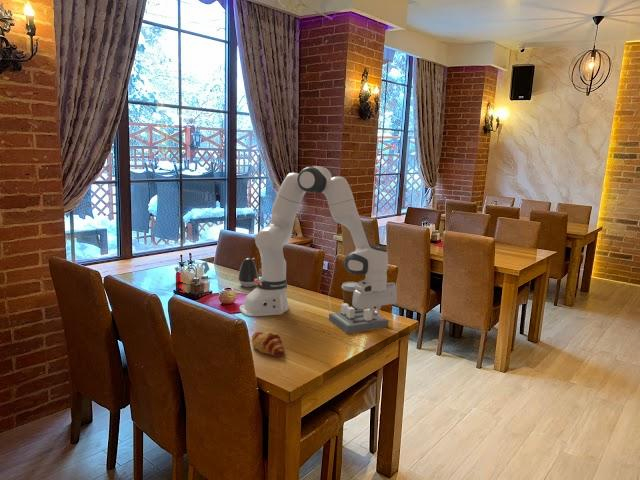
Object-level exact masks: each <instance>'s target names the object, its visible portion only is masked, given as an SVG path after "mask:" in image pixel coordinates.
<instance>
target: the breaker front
mask: <svg viewBox="0 0 640 480" xmlns="http://www.w3.org/2000/svg"><path fill="white" fill-rule="evenodd" d="M363 309H364V316H363V319H365V320H366V321H369V320H372V311H371V310H370V309H365V308H363Z"/></svg>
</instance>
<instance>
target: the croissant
mask: <svg viewBox="0 0 640 480" xmlns="http://www.w3.org/2000/svg"><path fill="white" fill-rule="evenodd" d="M251 343H252V346H253V350H257V351H259V353H262V354H267V355H270V356H274V357H279V356H283V355H284V354H285V350H284V349H285V348H284V345H283V341H282V340H281V336H280V335H279V334H278V333H275V332H272V331H271V332H266V331H256V332H253V334H252V335H251Z"/></svg>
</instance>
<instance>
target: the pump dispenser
mask: <svg viewBox="0 0 640 480" xmlns="http://www.w3.org/2000/svg"><path fill="white" fill-rule="evenodd" d="M255 260H256V258H255V257H253V258H250V257H246V258H244V259H243V261H242V262H241V265H240V268H239V272H238V281H239V283H240V285H241V286H242V287H244V288H251V287H255V285H257V284H256V283H255V282H254V281H255V279H258V280H259V275H258V270H257V269H258V268H257V266H256V264H255Z"/></svg>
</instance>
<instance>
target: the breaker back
mask: <svg viewBox="0 0 640 480" xmlns="http://www.w3.org/2000/svg"><path fill="white" fill-rule="evenodd" d="M347 307H349V305H348V304H347V303H344V302H342V303H340V312H341V313H342V314H344V315H345V314H346V311H347Z"/></svg>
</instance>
